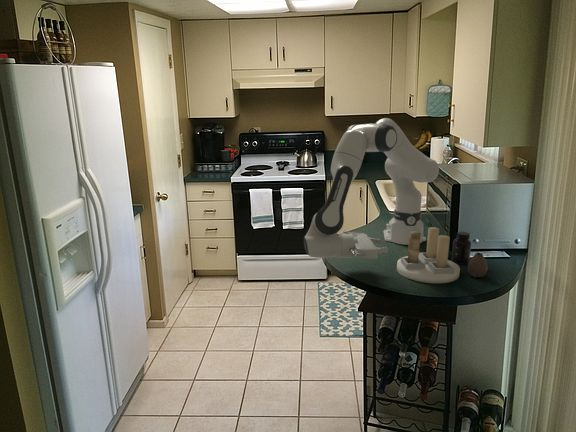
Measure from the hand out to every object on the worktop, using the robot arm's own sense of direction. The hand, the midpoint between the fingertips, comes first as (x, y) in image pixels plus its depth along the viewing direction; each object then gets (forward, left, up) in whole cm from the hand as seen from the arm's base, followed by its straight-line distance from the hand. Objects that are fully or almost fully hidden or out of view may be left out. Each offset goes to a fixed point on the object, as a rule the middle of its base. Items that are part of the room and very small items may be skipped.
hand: (384, 245), depth 181 cm
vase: (+5, +35, -11) cm, 37 cm away
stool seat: (0, +18, -11) cm, 21 cm away
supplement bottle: (-10, +35, -11) cm, 38 cm away
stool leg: (0, +12, -8) cm, 14 cm away
